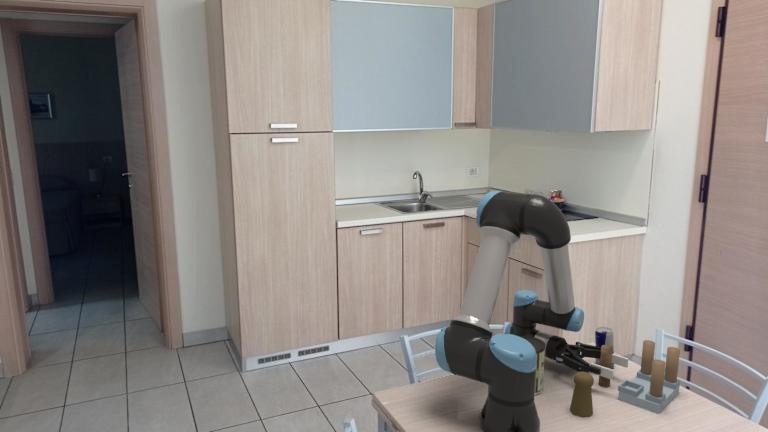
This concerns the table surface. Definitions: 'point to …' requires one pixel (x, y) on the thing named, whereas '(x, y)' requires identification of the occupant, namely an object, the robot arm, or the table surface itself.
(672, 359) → the stool seat
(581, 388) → the cork
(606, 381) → the stool leg
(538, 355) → the coffee can
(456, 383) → the table surface
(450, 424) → the table surface
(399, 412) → the table surface
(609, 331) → the energy drink
